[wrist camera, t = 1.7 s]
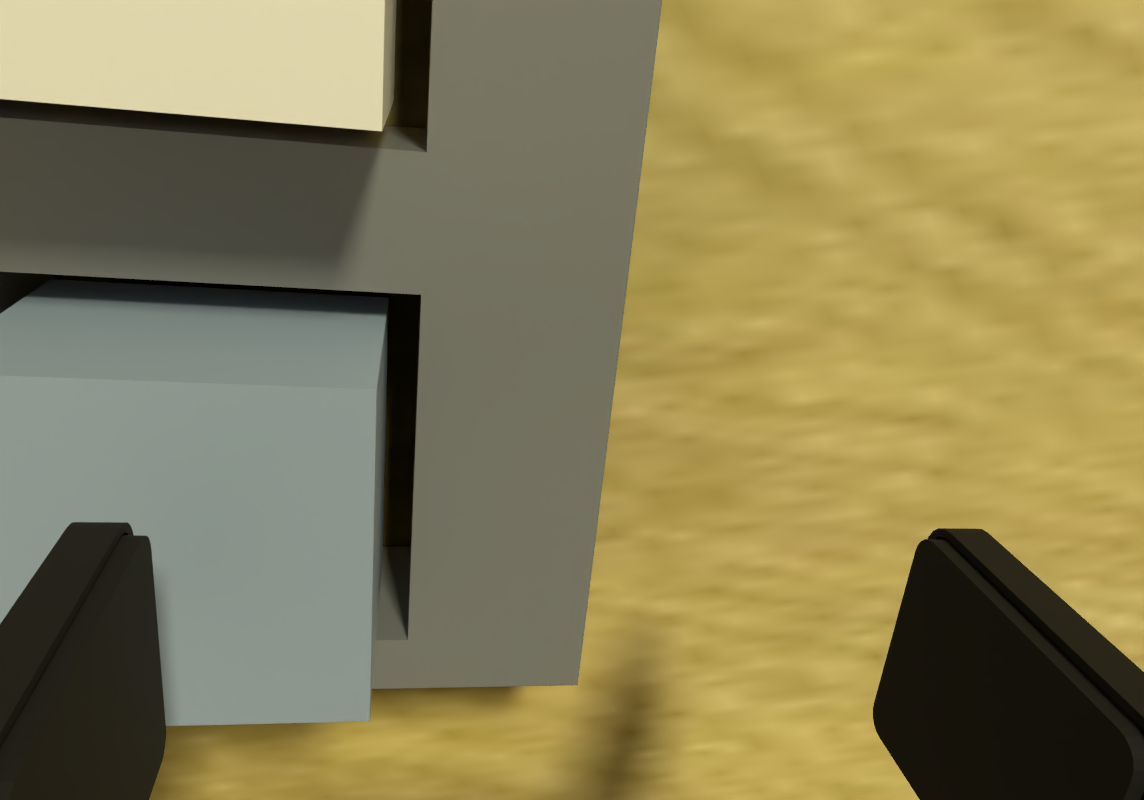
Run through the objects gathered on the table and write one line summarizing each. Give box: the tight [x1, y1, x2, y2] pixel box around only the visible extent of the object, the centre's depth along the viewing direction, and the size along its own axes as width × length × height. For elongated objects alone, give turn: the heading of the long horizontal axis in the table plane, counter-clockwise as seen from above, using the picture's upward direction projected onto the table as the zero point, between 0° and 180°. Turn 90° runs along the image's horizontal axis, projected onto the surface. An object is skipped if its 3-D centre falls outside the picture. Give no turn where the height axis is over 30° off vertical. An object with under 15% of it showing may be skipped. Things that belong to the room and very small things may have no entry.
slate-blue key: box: [0, 279, 389, 726], centre depth 13 cm, size 5×5×4 cm
